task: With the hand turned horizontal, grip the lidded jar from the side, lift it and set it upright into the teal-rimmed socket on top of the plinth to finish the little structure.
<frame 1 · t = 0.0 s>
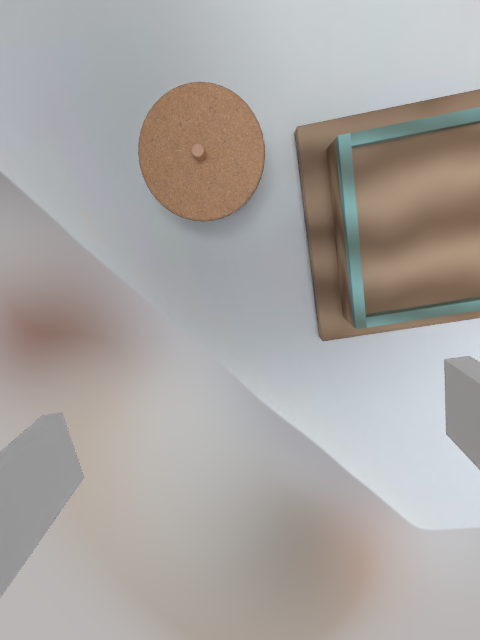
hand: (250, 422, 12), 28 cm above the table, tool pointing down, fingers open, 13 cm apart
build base: (410, 223, 36), on the table
lidded jar: (212, 170, 36), on the table
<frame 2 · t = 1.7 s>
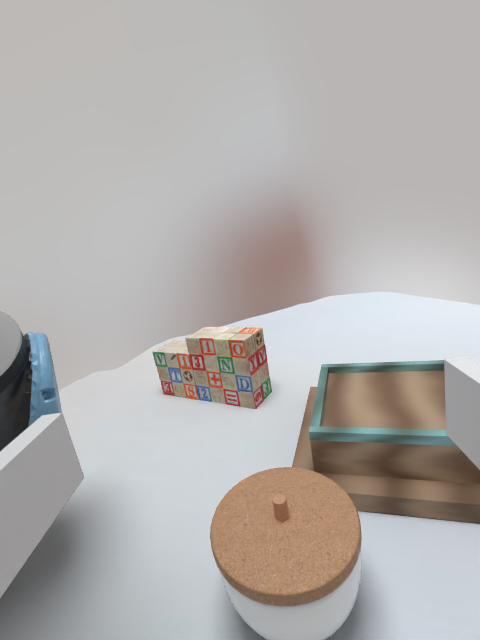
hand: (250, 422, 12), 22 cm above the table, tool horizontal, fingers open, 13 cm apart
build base: (392, 442, 41), on the table
lidded jar: (296, 598, 26), on the table
stack of blocks: (215, 394, 63), on the table
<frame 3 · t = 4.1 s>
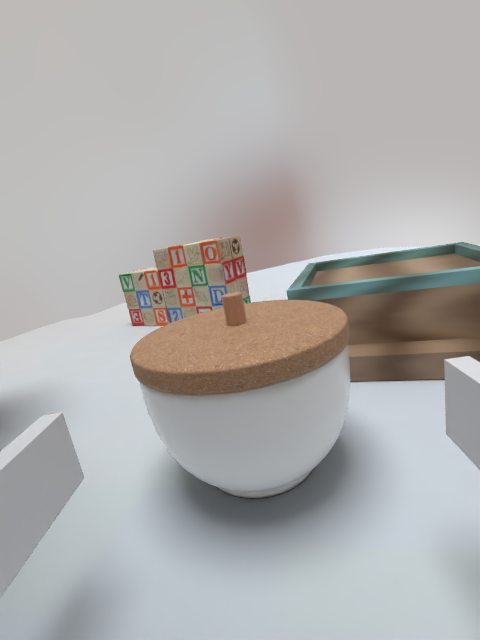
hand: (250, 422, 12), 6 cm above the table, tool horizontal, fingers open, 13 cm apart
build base: (392, 331, 34), on the table
lidded jar: (261, 459, 19), on the table
stack of blocks: (189, 321, 56), on the table
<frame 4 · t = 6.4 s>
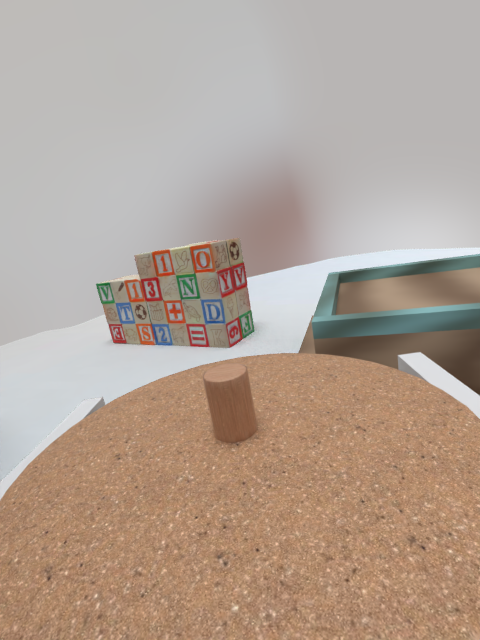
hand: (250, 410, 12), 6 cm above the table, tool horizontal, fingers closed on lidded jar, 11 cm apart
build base: (449, 369, 25), on the table
stack of blocks: (179, 339, 47), on the table
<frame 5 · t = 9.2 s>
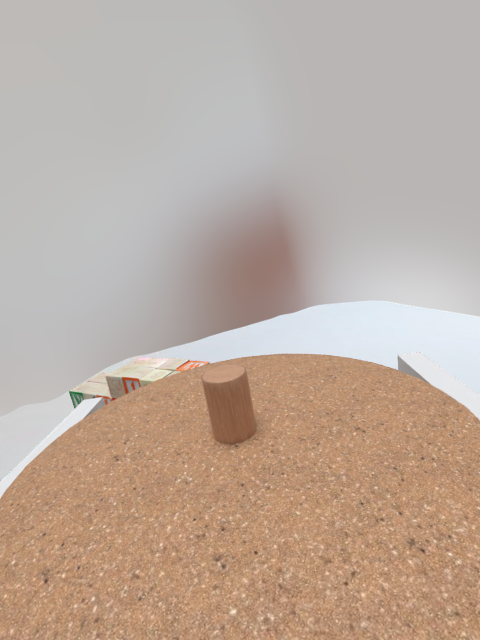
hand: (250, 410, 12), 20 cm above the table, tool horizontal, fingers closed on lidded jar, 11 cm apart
stack of blocks: (153, 447, 47), on the table
when the fingers open (13 cm above the table, at t = 12.4 s): lidded jar drops 1 cm, resting on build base.
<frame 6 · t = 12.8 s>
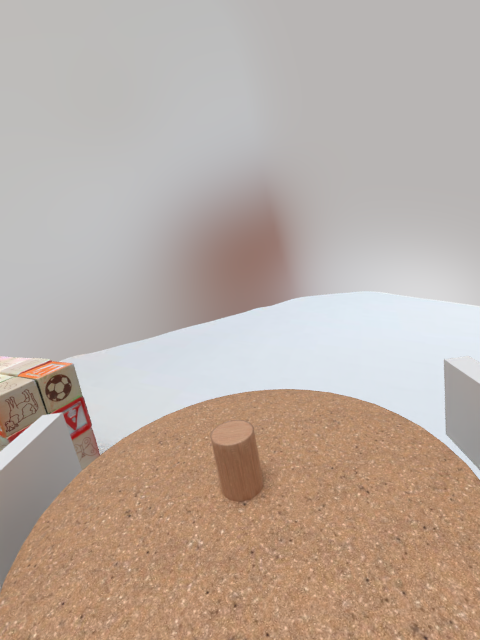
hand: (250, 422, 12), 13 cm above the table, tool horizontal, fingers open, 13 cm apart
stack of blocks: (19, 482, 34), on the table
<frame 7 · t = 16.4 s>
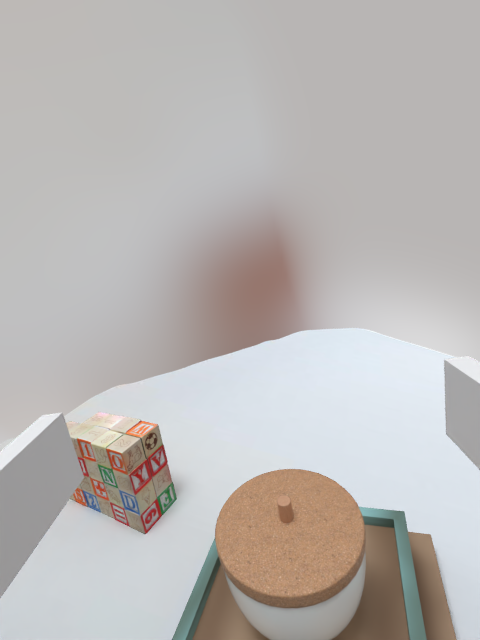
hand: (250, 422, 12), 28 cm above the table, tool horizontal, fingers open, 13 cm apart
lidded jar: (300, 600, 26), point 6 cm above the table, touching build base
stack of blocks: (112, 496, 51), on the table
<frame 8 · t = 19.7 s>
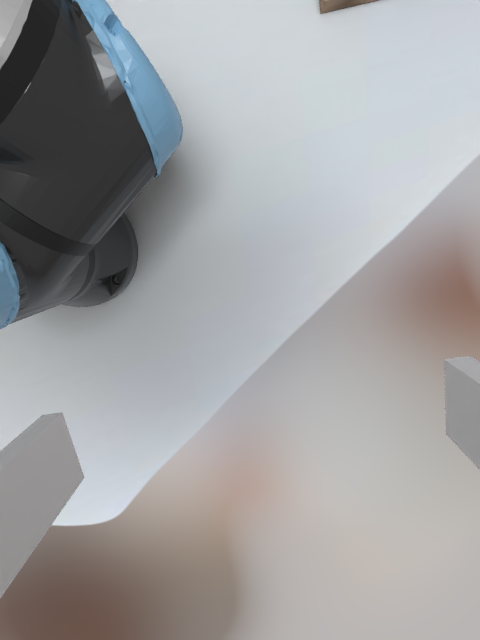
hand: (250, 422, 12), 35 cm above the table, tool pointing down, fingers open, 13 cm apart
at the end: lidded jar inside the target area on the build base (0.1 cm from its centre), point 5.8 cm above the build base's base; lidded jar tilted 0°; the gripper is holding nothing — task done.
